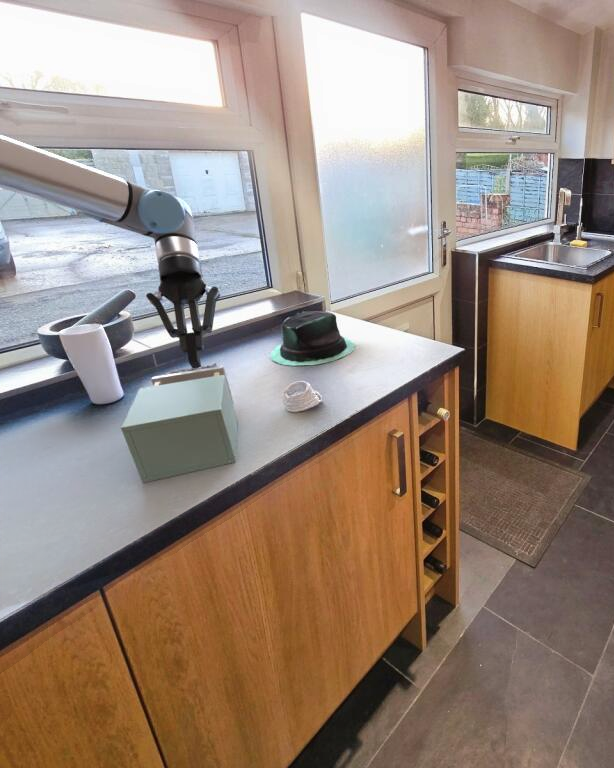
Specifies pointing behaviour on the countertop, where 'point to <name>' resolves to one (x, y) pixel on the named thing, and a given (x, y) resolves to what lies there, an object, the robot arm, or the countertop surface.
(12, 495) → the countertop surface
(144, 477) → the cabinet
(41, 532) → the countertop surface
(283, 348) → the dark green hat
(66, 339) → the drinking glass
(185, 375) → the drawer
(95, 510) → the countertop surface
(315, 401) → the white ribbed cup
